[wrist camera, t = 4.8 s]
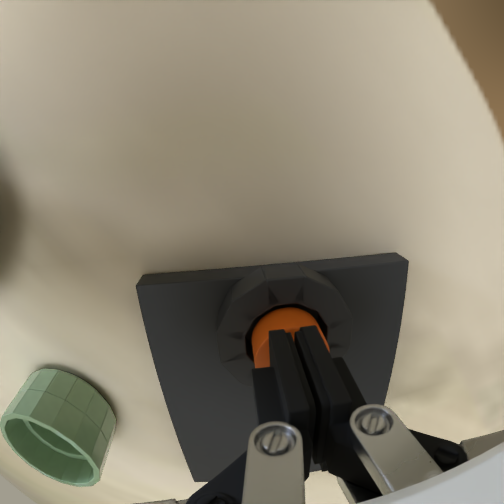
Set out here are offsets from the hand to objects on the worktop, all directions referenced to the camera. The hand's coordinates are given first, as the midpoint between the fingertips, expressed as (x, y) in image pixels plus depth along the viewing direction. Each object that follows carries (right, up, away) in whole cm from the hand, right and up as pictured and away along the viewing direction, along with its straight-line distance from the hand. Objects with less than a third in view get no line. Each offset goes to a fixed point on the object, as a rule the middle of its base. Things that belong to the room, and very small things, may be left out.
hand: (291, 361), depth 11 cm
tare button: (0, 0, +3) cm, 3 cm away
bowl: (-14, -6, +6) cm, 16 cm away
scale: (0, -4, +7) cm, 8 cm away
